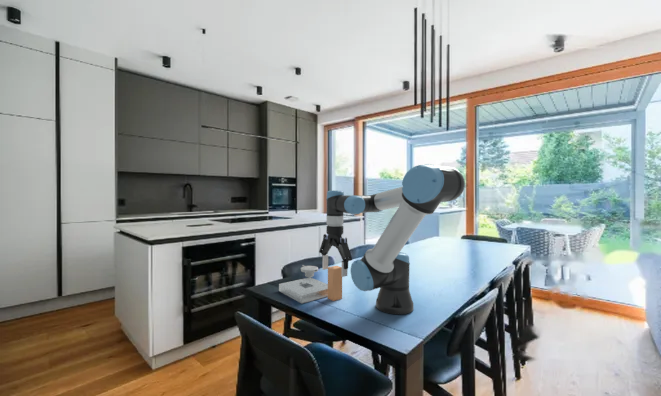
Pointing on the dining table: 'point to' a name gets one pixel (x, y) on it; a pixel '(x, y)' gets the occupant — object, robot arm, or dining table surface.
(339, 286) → the keyed peg
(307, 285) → the plate
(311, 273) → the showerhead
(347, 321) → the dining table surface
